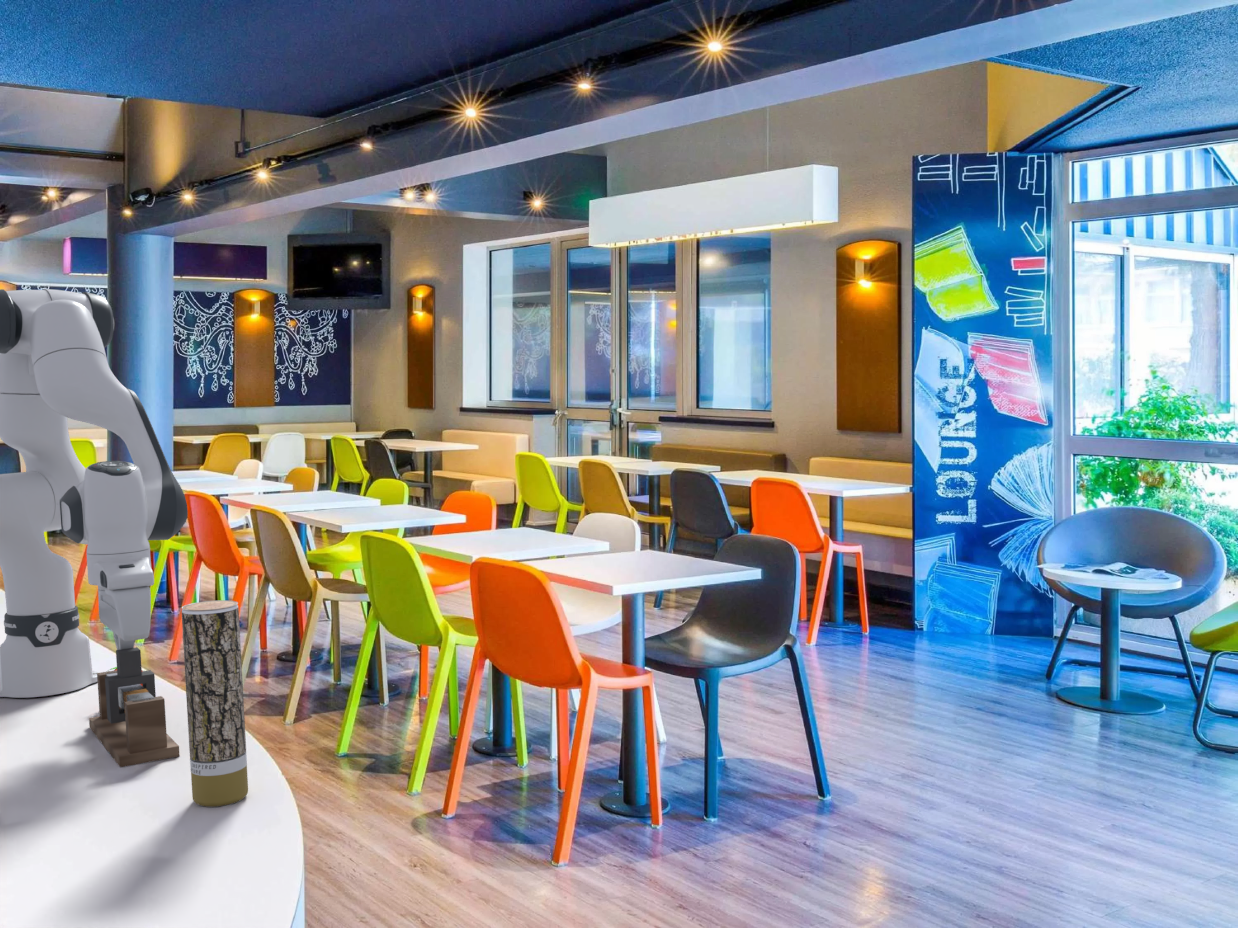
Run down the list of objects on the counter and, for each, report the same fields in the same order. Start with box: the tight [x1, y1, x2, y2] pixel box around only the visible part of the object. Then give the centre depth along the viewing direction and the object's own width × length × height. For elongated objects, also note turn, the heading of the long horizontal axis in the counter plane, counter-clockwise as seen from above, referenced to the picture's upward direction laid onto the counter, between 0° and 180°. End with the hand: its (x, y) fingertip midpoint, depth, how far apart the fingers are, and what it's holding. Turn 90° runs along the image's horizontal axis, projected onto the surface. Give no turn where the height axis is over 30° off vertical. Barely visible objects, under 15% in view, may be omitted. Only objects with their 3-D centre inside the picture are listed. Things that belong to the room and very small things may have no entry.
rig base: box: [88, 669, 180, 768], centre depth 180 cm, size 25×8×8 cm, turn 33°
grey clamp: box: [105, 647, 157, 724], centre depth 179 cm, size 3×6×10 cm, turn 123°
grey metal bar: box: [106, 672, 155, 712], centre depth 180 cm, size 22×3×3 cm, turn 33°
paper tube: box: [181, 599, 249, 808], centre depth 152 cm, size 7×7×25 cm
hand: (125, 660), depth 181 cm, fingers closed
